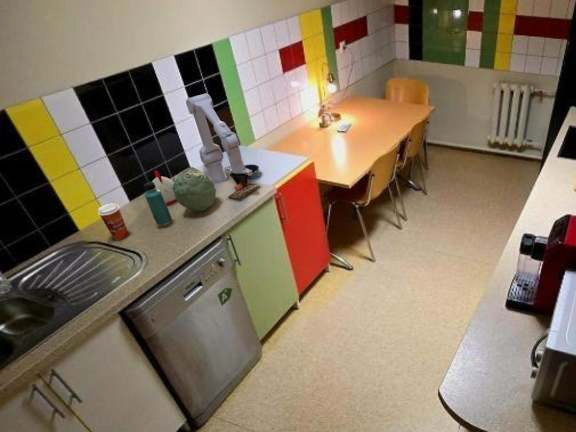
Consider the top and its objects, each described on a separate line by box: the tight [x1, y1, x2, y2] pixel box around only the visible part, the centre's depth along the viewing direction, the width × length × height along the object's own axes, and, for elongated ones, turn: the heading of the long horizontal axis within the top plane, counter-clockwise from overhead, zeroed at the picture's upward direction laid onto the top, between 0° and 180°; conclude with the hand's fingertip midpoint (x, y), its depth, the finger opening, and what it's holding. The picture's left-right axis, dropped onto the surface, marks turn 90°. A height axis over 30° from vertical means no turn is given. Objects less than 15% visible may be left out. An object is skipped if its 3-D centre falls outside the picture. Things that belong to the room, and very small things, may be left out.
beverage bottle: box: [143, 181, 173, 226], centre depth 176 cm, size 6×7×20 cm
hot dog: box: [234, 180, 251, 191], centre depth 200 cm, size 9×3×3 cm, turn 155°
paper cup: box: [97, 203, 129, 241], centre depth 172 cm, size 8×8×14 cm
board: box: [228, 183, 260, 202], centre depth 202 cm, size 14×7×1 cm, turn 155°
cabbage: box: [172, 166, 217, 212], centre depth 186 cm, size 16×19×20 cm
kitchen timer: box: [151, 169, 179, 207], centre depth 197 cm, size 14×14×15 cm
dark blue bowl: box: [244, 163, 261, 182], centre depth 215 cm, size 12×12×4 cm
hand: (242, 186), depth 200 cm, fingers closed on hot dog, 3 cm apart
